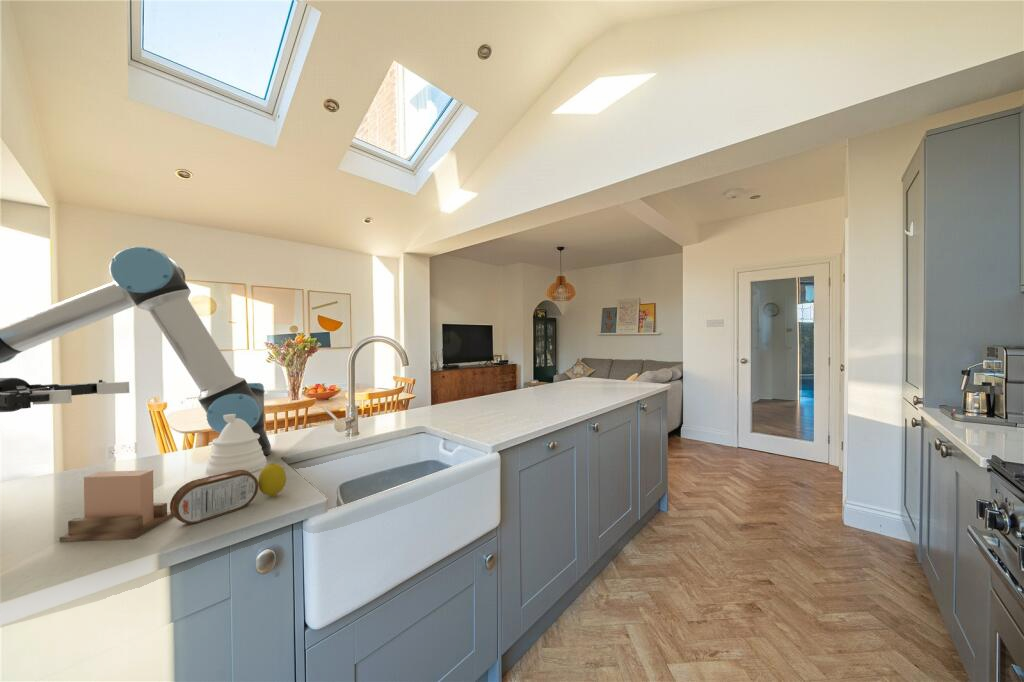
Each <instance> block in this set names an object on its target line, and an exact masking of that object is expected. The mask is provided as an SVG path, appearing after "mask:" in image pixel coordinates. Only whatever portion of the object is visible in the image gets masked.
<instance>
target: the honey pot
mask: <svg viewBox="0 0 1024 682" xmlns="http://www.w3.org/2000/svg"><path fill="white" fill-rule="evenodd" d="M235 417H236V414H227V415H223V418H224V420H225V421H226V422H228V424H227V425H226V426H225V427H224V429H223V430H222V432H221V434H220V435H218V437H216V438H214V439H212V441H211V442H212V445H214V447H213V449H212V452H210V457H209V458H208V463H207V465H205V477H210V476H214V475H218V474H222V473H227V472H231V471H235V470H246V471H248V472H250V473H251V474H252V475H254V476H255V477H256V479H257V480H259V476H260V473H261V471H262V470H263V469H264V468H265V467H266V466H267V457H266V456H264V454H263V451H262V449H261V448H262V447H261V445H260V444H259V442H258V440H257V439H259V437H260V435H259V434H257V433H254V432H253V430H252V429H251V427H250V426H249V425H248V424H247V423H246V422H245V421H244V420H242V419H239V418H235ZM205 477H204V478H205Z"/></svg>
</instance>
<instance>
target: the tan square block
mask: <svg viewBox="0 0 1024 682" xmlns="http://www.w3.org/2000/svg"><path fill="white" fill-rule="evenodd" d="M154 499H155V498H154V470H153V469H149V470H148V469H147V470H146V469H145V470H115V471H98V472H94V473H92V474H89V475H85V476H84V477H83V506H84V508H83V509H84V512H83V514H84V516H83V518H92V517H117V516H142V515H143V525H145V524H146V523H148V522H150V521H152V520H153V519H154V503H155V502H154Z"/></svg>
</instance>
